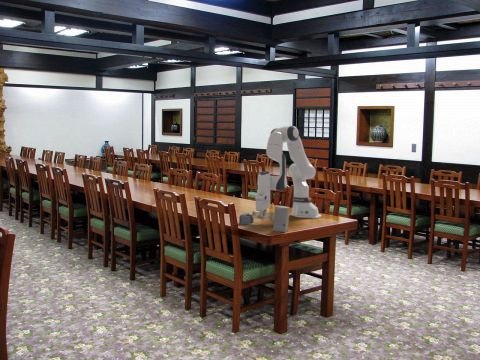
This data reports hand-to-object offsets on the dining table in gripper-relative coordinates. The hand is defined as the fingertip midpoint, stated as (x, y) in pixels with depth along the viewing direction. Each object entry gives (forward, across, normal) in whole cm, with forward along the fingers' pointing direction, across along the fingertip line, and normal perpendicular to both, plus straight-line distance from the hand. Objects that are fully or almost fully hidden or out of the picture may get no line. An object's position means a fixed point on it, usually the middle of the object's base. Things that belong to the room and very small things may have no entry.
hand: (263, 215), depth 342 cm
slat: (+2, 0, 0) cm, 2 cm away
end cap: (+6, 0, -12) cm, 13 cm away
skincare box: (+6, +14, +17) cm, 23 cm away
